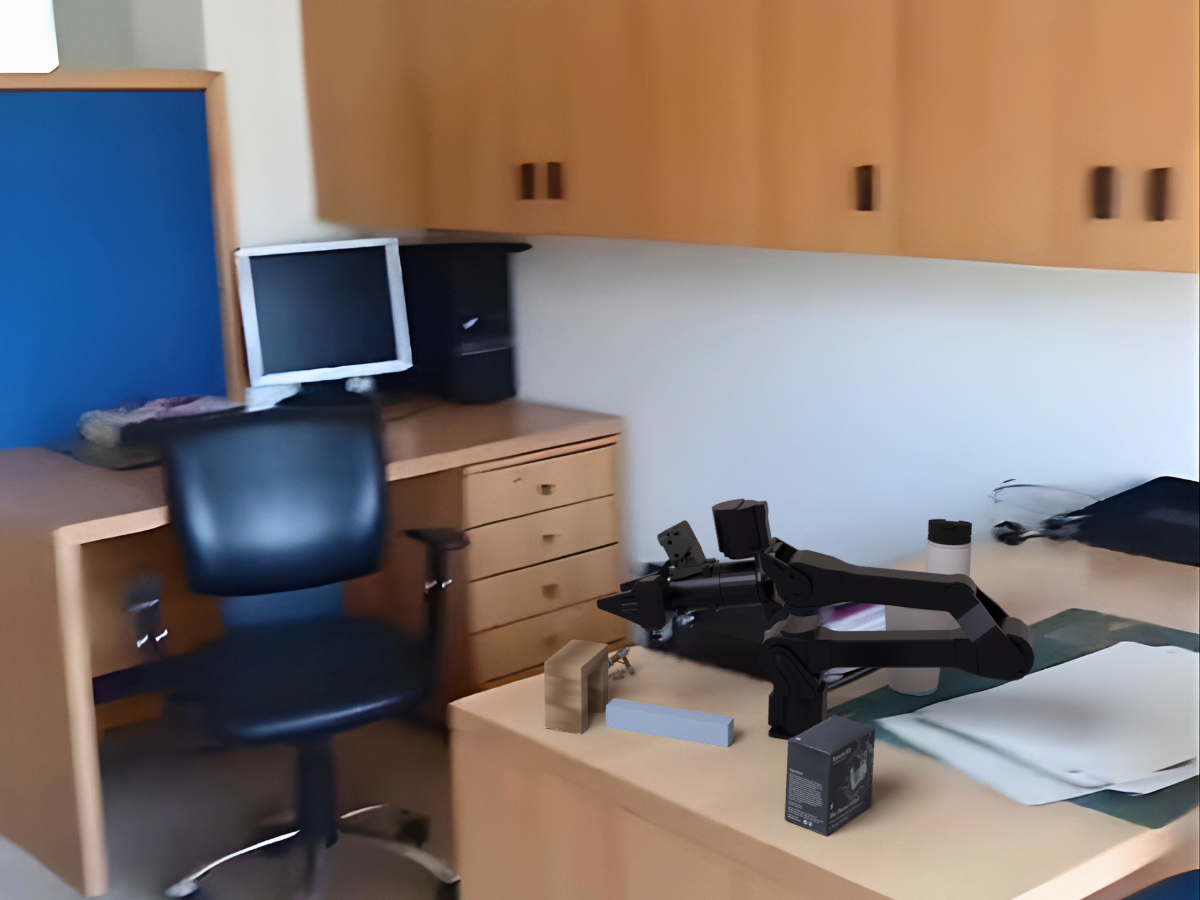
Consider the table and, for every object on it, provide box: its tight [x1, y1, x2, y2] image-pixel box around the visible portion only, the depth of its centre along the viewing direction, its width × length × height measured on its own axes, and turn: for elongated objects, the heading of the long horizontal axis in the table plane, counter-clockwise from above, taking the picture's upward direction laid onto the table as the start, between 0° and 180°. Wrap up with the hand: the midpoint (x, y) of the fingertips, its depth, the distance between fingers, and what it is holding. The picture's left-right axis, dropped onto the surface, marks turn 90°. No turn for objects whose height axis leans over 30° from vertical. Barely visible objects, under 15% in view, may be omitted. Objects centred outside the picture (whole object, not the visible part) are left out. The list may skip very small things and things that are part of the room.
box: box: [783, 714, 876, 836], centre depth 134 cm, size 9×6×10 cm, turn 138°
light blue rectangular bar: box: [605, 697, 735, 748], centre depth 155 cm, size 16×3×3 cm, turn 68°
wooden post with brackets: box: [608, 646, 635, 681], centre depth 173 cm, size 2×8×4 cm, turn 116°
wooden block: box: [543, 639, 609, 735], centre depth 159 cm, size 5×9×9 cm, turn 158°
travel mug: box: [925, 518, 973, 630], centre depth 183 cm, size 6×7×20 cm
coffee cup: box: [883, 605, 948, 692], centre depth 169 cm, size 10×10×15 cm
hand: (609, 595), depth 161 cm, fingers open, 9 cm apart
